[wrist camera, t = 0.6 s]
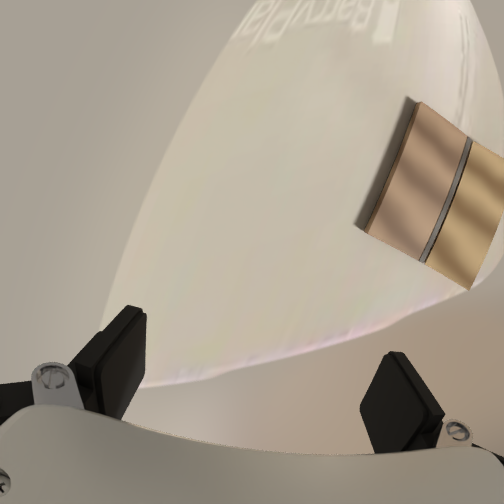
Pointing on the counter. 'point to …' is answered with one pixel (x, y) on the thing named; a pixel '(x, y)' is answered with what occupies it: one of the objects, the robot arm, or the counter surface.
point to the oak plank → (470, 218)
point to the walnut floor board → (420, 184)
